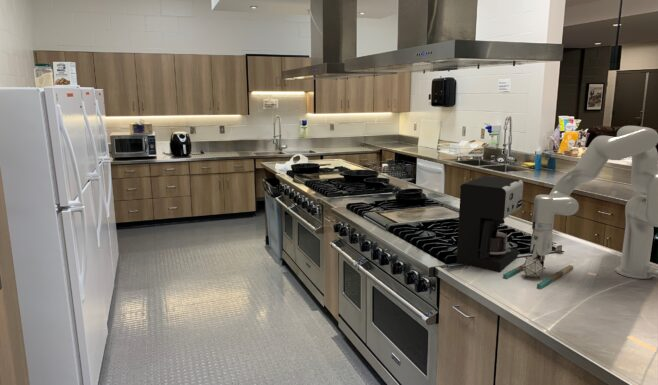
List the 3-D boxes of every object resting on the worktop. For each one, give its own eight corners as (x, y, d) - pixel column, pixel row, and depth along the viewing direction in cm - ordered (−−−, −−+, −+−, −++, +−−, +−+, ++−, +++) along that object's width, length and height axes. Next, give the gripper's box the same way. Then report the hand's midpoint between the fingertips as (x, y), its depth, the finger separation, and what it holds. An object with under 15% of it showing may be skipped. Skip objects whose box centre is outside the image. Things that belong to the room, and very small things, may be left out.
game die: (533, 284, 193) (546, 263, 193) (539, 285, 185) (553, 263, 185) (513, 271, 195) (526, 250, 195) (518, 271, 186) (532, 250, 187)
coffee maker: (498, 275, 192) (504, 189, 185) (451, 265, 204) (456, 184, 197) (519, 257, 214) (525, 179, 207) (476, 248, 226) (480, 174, 218)
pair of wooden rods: (572, 269, 199) (573, 265, 199) (540, 289, 179) (541, 285, 179) (536, 260, 210) (537, 257, 209) (502, 278, 190) (503, 274, 190)
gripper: (543, 231, 183) (539, 277, 187) (560, 224, 193) (555, 267, 196) (524, 227, 188) (520, 271, 192) (541, 220, 198) (537, 263, 202)
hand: (538, 269), depth 194 cm, fingers closed
